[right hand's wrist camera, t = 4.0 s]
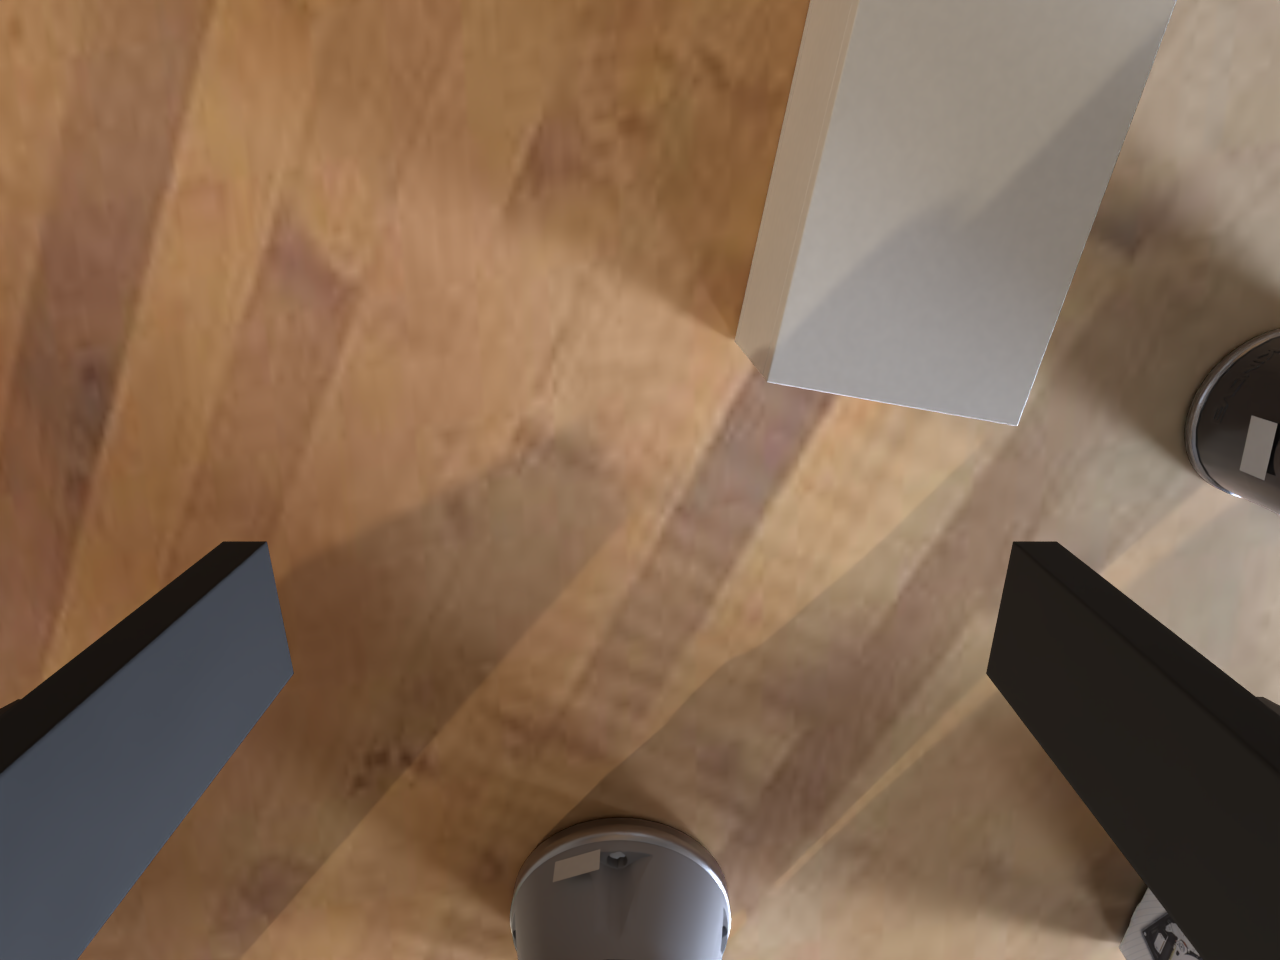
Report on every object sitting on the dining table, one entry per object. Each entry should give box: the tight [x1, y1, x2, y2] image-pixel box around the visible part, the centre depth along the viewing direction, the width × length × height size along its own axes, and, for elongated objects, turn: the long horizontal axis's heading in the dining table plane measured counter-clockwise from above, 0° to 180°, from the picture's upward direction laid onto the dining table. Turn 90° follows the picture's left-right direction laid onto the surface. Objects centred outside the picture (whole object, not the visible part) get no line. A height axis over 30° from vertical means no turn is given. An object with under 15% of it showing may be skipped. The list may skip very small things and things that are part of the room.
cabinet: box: [735, 0, 1177, 426], centre depth 30 cm, size 18×10×10 cm, turn 170°
